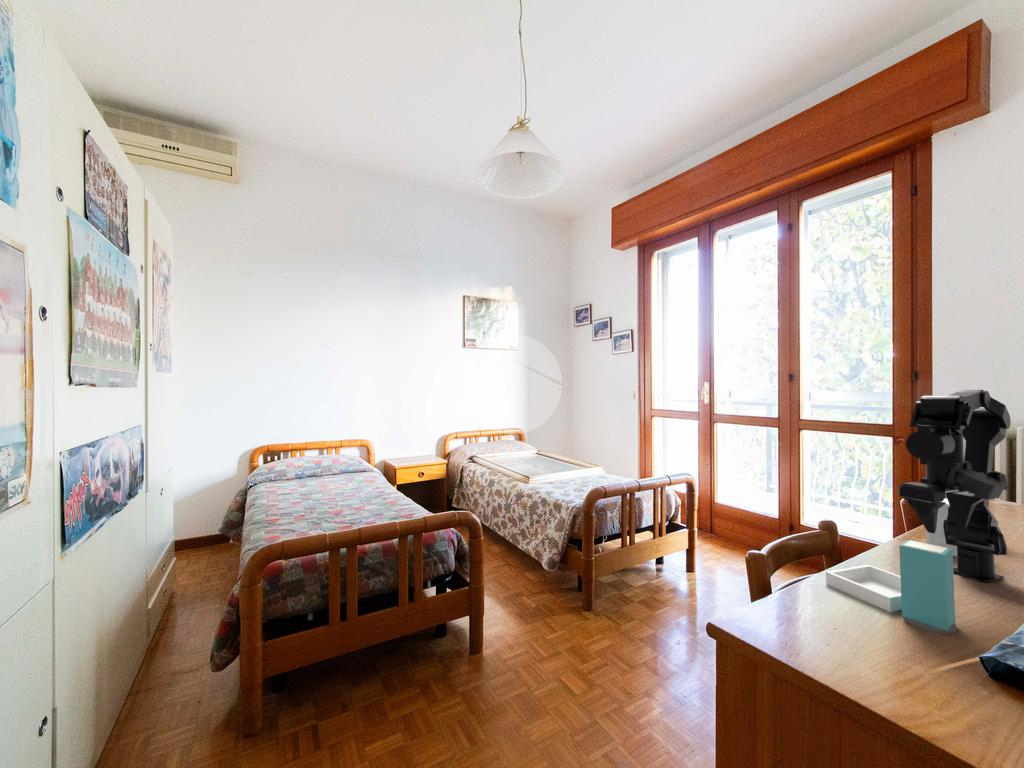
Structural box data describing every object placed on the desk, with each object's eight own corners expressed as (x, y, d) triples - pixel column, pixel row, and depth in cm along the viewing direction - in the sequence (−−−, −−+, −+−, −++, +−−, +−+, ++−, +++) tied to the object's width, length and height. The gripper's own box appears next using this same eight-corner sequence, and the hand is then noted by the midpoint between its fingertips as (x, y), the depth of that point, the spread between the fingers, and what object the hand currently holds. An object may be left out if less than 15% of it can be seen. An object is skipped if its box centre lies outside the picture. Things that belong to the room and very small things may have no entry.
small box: (960, 558, 107) (958, 505, 107) (926, 550, 113) (924, 500, 113) (968, 551, 112) (966, 500, 112) (934, 544, 117) (933, 496, 117)
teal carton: (910, 608, 82) (908, 539, 82) (955, 622, 77) (952, 548, 77) (902, 616, 79) (899, 544, 79) (947, 631, 74) (944, 554, 74)
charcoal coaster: (919, 612, 82) (919, 607, 82) (966, 631, 75) (966, 626, 75) (892, 618, 80) (892, 612, 80) (938, 638, 73) (938, 632, 73)
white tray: (869, 577, 97) (868, 564, 97) (936, 604, 85) (936, 588, 85) (826, 585, 94) (825, 571, 94) (890, 613, 82) (889, 598, 82)
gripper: (962, 464, 80) (966, 549, 79) (1027, 458, 84) (1031, 538, 84) (895, 456, 90) (897, 530, 90) (956, 451, 95) (959, 522, 95)
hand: (947, 530), depth 89 cm, fingers open, 9 cm apart
